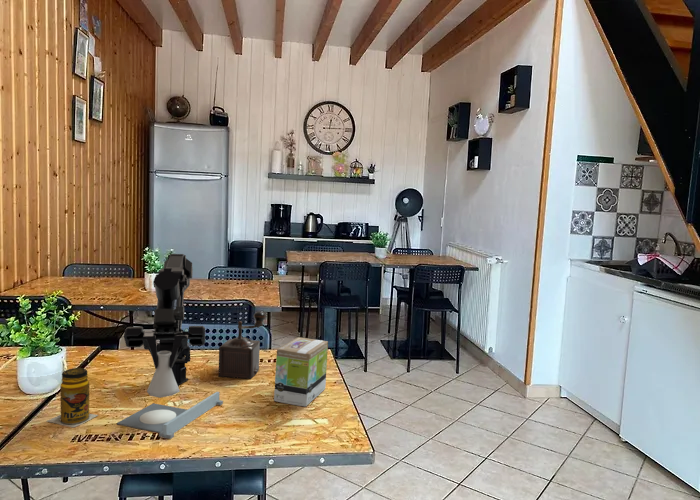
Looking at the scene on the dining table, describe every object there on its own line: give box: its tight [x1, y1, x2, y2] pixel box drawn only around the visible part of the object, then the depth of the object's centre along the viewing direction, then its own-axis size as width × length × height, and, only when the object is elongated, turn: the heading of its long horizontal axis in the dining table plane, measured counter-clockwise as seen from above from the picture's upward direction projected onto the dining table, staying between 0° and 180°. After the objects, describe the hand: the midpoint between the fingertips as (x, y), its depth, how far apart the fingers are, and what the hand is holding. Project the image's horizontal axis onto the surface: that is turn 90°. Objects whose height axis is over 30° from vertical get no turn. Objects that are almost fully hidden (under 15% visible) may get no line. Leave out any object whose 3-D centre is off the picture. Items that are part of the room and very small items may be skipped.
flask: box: [146, 351, 181, 399], centre depth 123 cm, size 7×7×10 cm
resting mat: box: [116, 403, 188, 434], centre depth 124 cm, size 13×13×1 cm
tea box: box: [273, 336, 329, 407], centre depth 143 cm, size 15×10×15 cm, turn 163°
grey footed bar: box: [158, 391, 224, 440], centre depth 125 cm, size 3×22×3 cm, turn 163°
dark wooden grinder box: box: [218, 311, 266, 380], centre depth 161 cm, size 16×11×18 cm
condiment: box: [46, 367, 99, 428], centre depth 121 cm, size 7×8×12 cm
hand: (163, 367), depth 122 cm, fingers closed on flask, 3 cm apart
